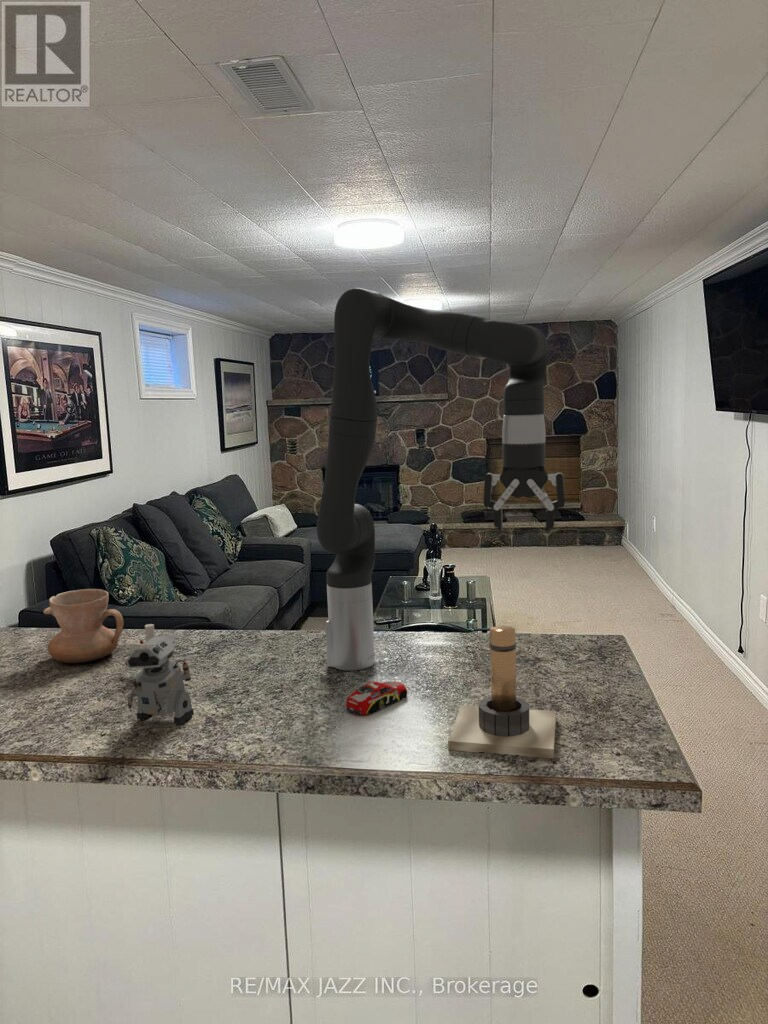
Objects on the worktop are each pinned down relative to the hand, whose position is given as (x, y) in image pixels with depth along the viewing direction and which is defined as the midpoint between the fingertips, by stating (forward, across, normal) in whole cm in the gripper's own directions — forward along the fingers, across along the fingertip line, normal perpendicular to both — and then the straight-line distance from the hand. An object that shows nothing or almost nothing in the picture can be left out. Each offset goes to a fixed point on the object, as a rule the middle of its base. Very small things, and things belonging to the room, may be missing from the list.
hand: (524, 530), depth 136 cm
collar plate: (+30, -2, -20) cm, 36 cm away
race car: (+31, -25, -11) cm, 41 cm away
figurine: (+30, -61, -26) cm, 73 cm away
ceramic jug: (+31, -96, +3) cm, 101 cm away
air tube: (+28, -2, -20) cm, 35 cm away
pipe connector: (+30, -76, -3) cm, 82 cm away
